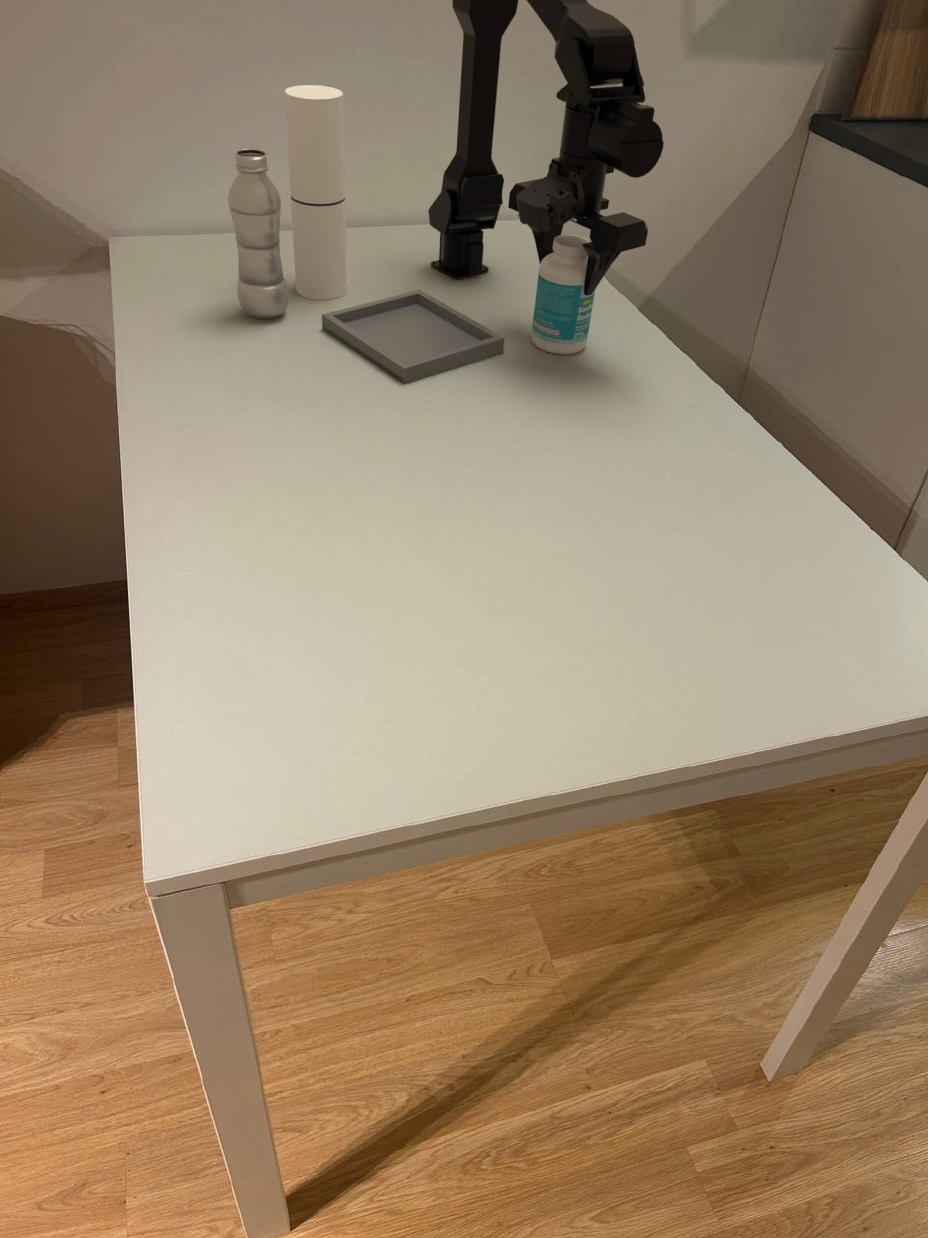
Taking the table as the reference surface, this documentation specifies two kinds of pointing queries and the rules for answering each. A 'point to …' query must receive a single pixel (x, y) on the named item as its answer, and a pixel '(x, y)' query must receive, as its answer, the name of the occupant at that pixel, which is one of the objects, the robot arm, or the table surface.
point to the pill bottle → (562, 298)
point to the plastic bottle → (257, 236)
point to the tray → (412, 335)
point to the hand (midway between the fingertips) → (566, 284)
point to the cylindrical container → (317, 189)
